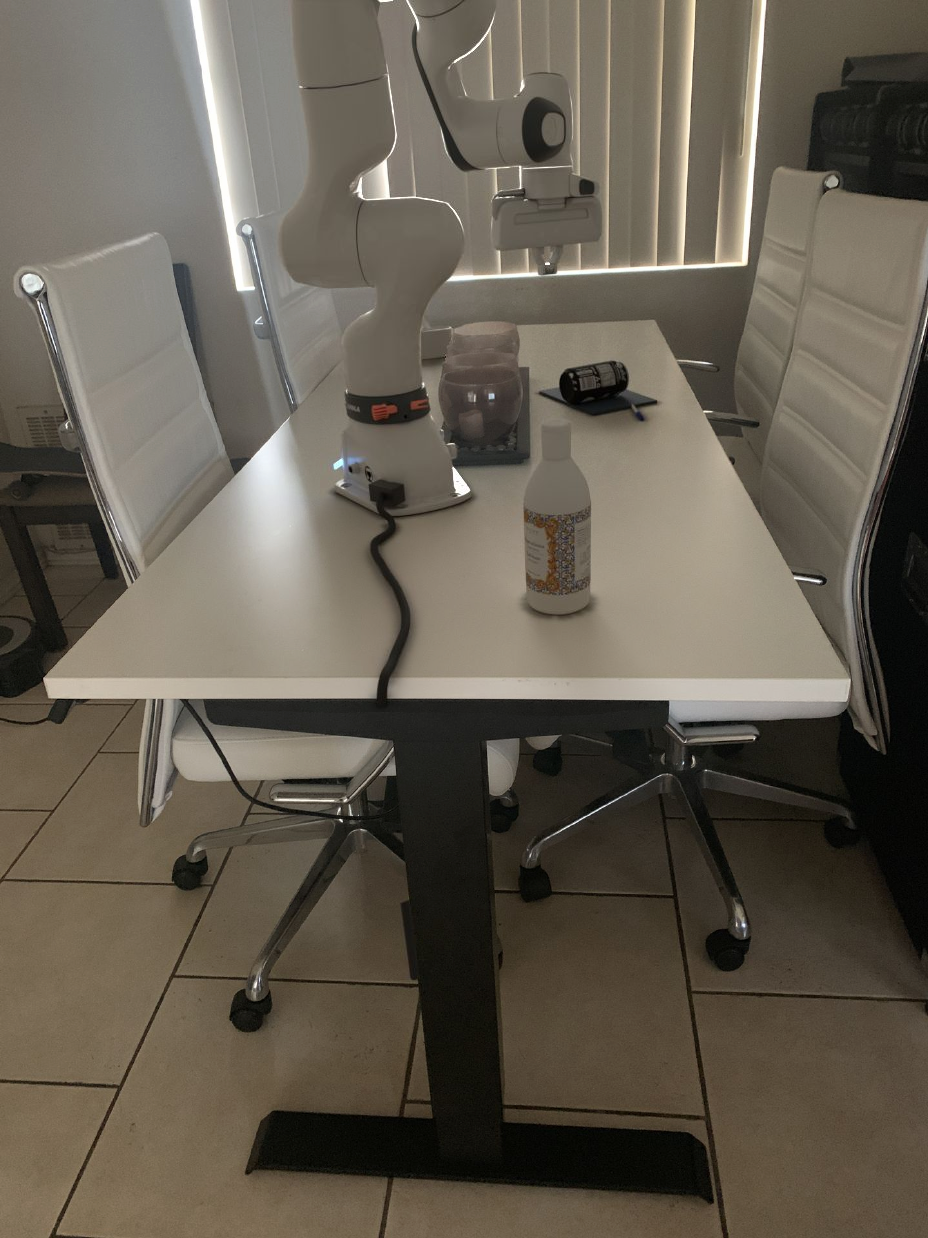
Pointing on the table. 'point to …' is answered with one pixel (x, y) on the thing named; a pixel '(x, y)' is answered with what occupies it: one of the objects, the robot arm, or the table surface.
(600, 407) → the mat
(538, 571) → the bath foam
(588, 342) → the table surface
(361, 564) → the table surface
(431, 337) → the phone holder
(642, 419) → the ballpoint pen
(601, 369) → the beverage can
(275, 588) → the table surface
